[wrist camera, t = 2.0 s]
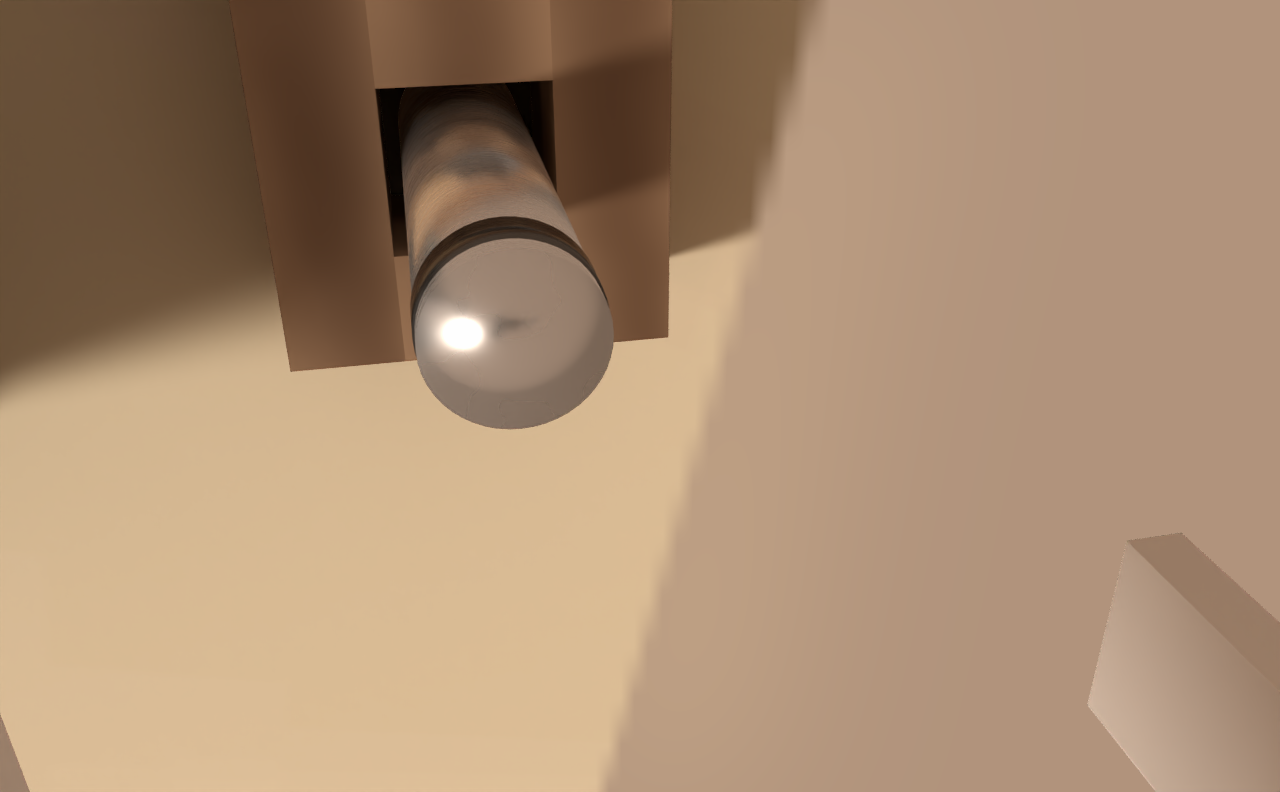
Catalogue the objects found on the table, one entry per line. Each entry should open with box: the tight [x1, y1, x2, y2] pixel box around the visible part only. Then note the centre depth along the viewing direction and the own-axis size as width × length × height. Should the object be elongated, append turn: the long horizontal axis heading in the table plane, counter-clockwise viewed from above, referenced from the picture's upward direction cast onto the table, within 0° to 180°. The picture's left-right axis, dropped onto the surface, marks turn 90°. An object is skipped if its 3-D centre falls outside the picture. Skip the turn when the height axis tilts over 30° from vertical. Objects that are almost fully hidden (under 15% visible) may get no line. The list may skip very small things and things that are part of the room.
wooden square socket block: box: [229, 0, 672, 372], centre depth 36 cm, size 12×12×6 cm
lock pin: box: [398, 83, 614, 429], centre depth 30 cm, size 4×4×18 cm
